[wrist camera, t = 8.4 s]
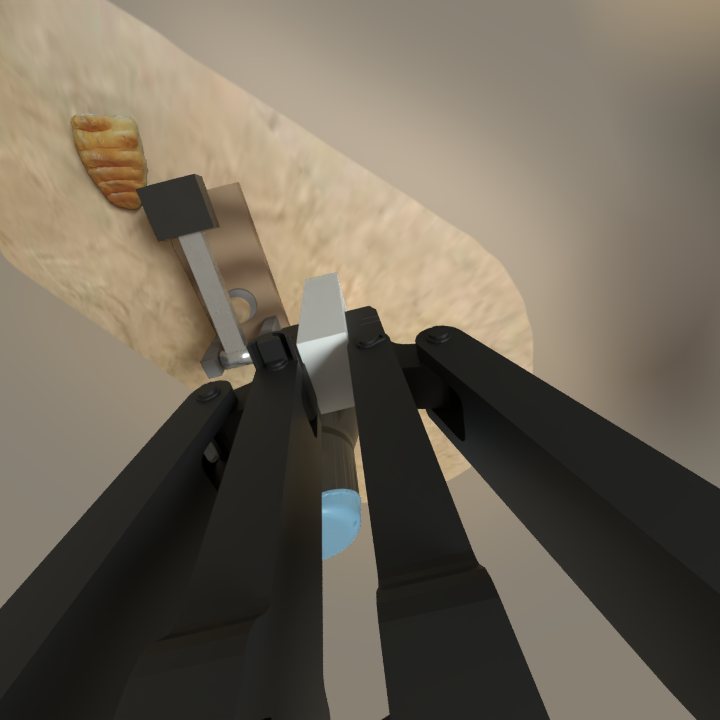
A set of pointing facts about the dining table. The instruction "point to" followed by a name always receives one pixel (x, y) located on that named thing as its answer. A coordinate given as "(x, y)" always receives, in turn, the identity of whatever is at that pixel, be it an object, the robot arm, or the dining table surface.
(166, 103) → the dining table surface
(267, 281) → the nutcracker base
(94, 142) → the pastry
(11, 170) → the dining table surface
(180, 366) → the dining table surface
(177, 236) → the lever
